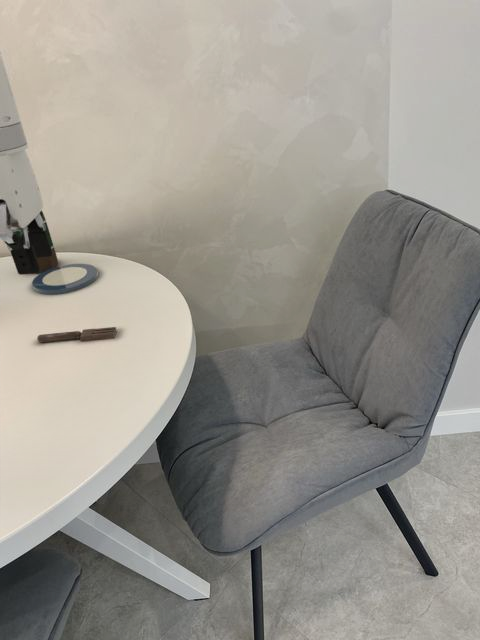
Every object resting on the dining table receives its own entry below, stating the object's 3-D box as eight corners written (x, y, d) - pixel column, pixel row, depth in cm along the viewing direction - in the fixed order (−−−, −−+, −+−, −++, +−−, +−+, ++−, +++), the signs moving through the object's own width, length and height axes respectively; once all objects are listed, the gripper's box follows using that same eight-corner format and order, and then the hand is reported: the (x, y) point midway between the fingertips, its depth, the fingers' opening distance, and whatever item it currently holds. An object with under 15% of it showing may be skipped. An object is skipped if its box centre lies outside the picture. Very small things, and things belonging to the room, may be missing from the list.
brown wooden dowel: (36, 345, 97) (34, 339, 96) (40, 338, 99) (38, 331, 99) (114, 338, 97) (112, 331, 96) (117, 331, 99) (115, 324, 99)
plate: (24, 297, 115) (23, 292, 115) (44, 270, 127) (42, 266, 127) (90, 291, 115) (89, 286, 115) (103, 264, 127) (102, 260, 127)
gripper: (-8, 131, 81) (29, 246, 90) (-61, 157, 66) (-9, 291, 76) (42, 126, 81) (74, 242, 90) (0, 151, 66) (44, 286, 76)
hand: (36, 263), depth 83 cm, fingers open, 5 cm apart
